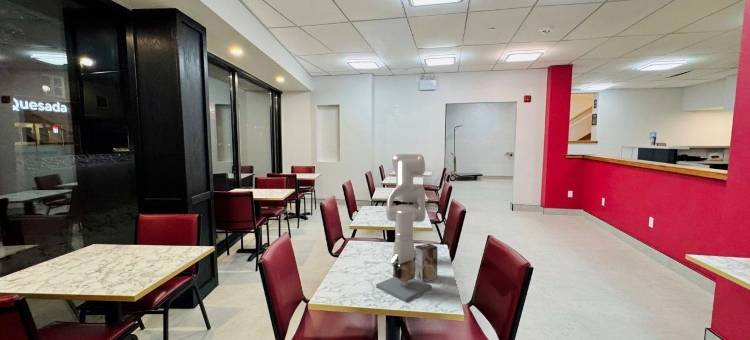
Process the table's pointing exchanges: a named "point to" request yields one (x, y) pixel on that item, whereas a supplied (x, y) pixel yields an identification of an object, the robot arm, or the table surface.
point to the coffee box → (426, 262)
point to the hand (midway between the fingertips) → (404, 274)
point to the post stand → (404, 288)
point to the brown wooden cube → (406, 271)
